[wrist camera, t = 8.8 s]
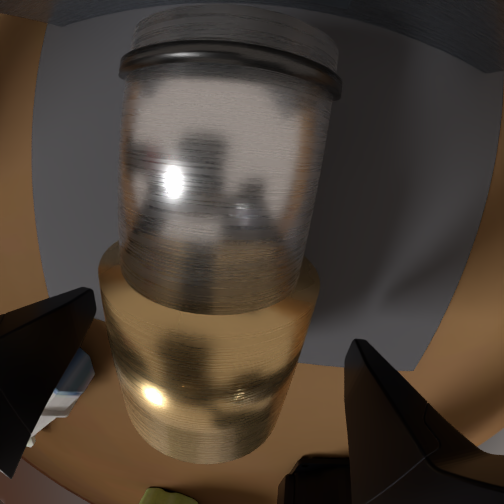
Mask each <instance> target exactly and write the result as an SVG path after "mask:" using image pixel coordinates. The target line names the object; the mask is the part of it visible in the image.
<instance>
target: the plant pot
mask: <svg viewBox="0 0 504 504" xmlns="http://www.w3.org/2000/svg"><path fill="white" fill-rule="evenodd" d="M139 504H198V502H197V501H195V500H194V499H192V498H190V497H187V496H185V495H183V494H180V493H176V492H175V493H168V492H166V491H164V490H163V489H160V488H148V489H147V490H146V492H145V494H144V496H143V497H142V499H141V501H140V503H139Z"/></svg>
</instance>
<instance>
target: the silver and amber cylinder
mask: <svg viewBox="0 0 504 504" xmlns="http://www.w3.org/2000/svg"><path fill="white" fill-rule="evenodd" d="M338 54H339V50H338V46H337V44H336V43H335V42H334V41H333V39H332V38H331V37H329V36H328V35H327V34H326V33H324V32H323V31H321V30H320V29H318V28H316V27H315V26H313V25H311V24H308V23H306V22H304V21H302V20H300V19H297V18H294V17H291V16H289V15H286V14H282V13H279V12H275V11H271V10H267V9H262V8H257V7H251V6H244V5H234V4H196V5H188V6H180V7H175V8H171V9H167V10H163V11H160V12H157V13H154V14H152V15H150V16H148V17H146V18H144V19H143V20H141V21H140V22H139V23H138V24H137V25H136V27H135V29H134V33H133V38H132V44H131V49H130V52H128V53H126V54H125V55H124V56H123V57H122V58H121V61H120V67H119V74H118V76H119V78H121V79H123V80H125V88H124V96H123V105H122V115H121V127H120V141H119V160H118V233H119V240H118V241H117V242H115V243H114V244H113V245H111V246H110V247H109V248H108V249H107V250H106V252H105V253H104V254H103V256H102V258H101V260H100V262H99V267H98V277H99V285H100V292H101V298H102V305H103V311H104V317H105V322H106V327H107V333H108V338H109V342H110V347H111V351H112V356H113V360H114V364H115V368H116V372H117V376H118V380H119V384H120V387H121V391H122V395H123V398H124V401H125V405H126V408H127V411H128V414H129V417H130V420H131V422H132V424H133V426H134V427H135V429H136V431H137V432H138V433H139V434H140V436H141V437H142V438H143V439H144V440H145V441H146V442H147V443H148V444H150V445H151V446H152V447H153V448H155V449H157V450H158V451H160V452H161V453H163V454H165V455H167V456H170V457H172V458H175V459H178V460H181V461H185V462H190V463H196V464H217V463H223V462H228V461H232V460H235V459H238V458H241V457H243V456H245V455H247V454H249V453H251V452H252V451H254V450H255V449H257V448H258V447H259V446H260V445H261V444H262V443H263V442H265V441H266V439H267V438H268V437H269V435H270V434H271V432H272V431H273V429H274V427H275V425H276V422H277V419H278V417H279V414H280V411H281V409H282V406H283V403H284V400H285V398H286V395H287V392H288V389H289V386H290V383H291V381H292V378H293V375H294V372H295V369H296V366H297V363H298V360H299V357H300V354H301V351H302V347H303V344H304V341H305V338H306V335H307V332H308V328H309V325H310V322H311V318H312V315H313V312H314V308H315V305H316V301H317V298H318V294H319V290H320V279H319V276H318V273H317V271H316V269H315V267H314V266H313V265H312V263H311V262H310V261H309V260H308V259H307V258H306V257H305V256H304V251H305V246H306V242H307V237H308V232H309V228H310V223H311V218H312V213H313V208H314V203H315V198H316V193H317V188H318V182H319V177H320V171H321V166H322V160H323V155H324V149H325V143H326V137H327V131H328V125H329V118H330V112H331V105H332V102H333V101H337V100H339V99H341V93H342V86H343V80H342V79H341V77H340V76H339V75H337V74H336V70H337V62H338Z"/></svg>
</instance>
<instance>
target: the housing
mask: <svg viewBox="0 0 504 504" xmlns="http://www.w3.org/2000/svg"><path fill="white" fill-rule="evenodd" d="M192 3H246V4H262V5H273V6H282V7H290V8H297V9H304V10H310V11H316V12H321V13H326V14H331V15H335V16H340V17H344V18H348V19H352V20H356V21H360V22H364V23H367V24H371V25H374V26H377V27H381V28H384V29H387V30H390V31H393V32H396V33H399V34H401V35H404V36H407V37H409V38H412V39H415V40H417V41H420V42H422V43H425V44H427V45H429V46H432V47H434V48H436V49H438V50H441V51H443V52H445V53H447V54H449V55H451V56H453V57H455V58H457V59H459V60H461V61H463V62H465V63H467V64H469V65H471V66H473V67H474V68H476V69H478V70H480V71H482V72H483V73H485V74H487V73H493V72H500V71H504V0H0V13H2V14H8V15H13V16H18V17H23V18H28V19H32V20H36V21H41V22H45V23H49V24H52V25H56V26H60V27H63V26H66V25H69V24H73V23H76V22H80V21H83V20H87V19H91V18H95V17H99V16H104V15H108V14H113V13H118V12H123V11H129V10H135V9H141V8H148V7H156V6H165V5H176V4H192Z"/></svg>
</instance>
